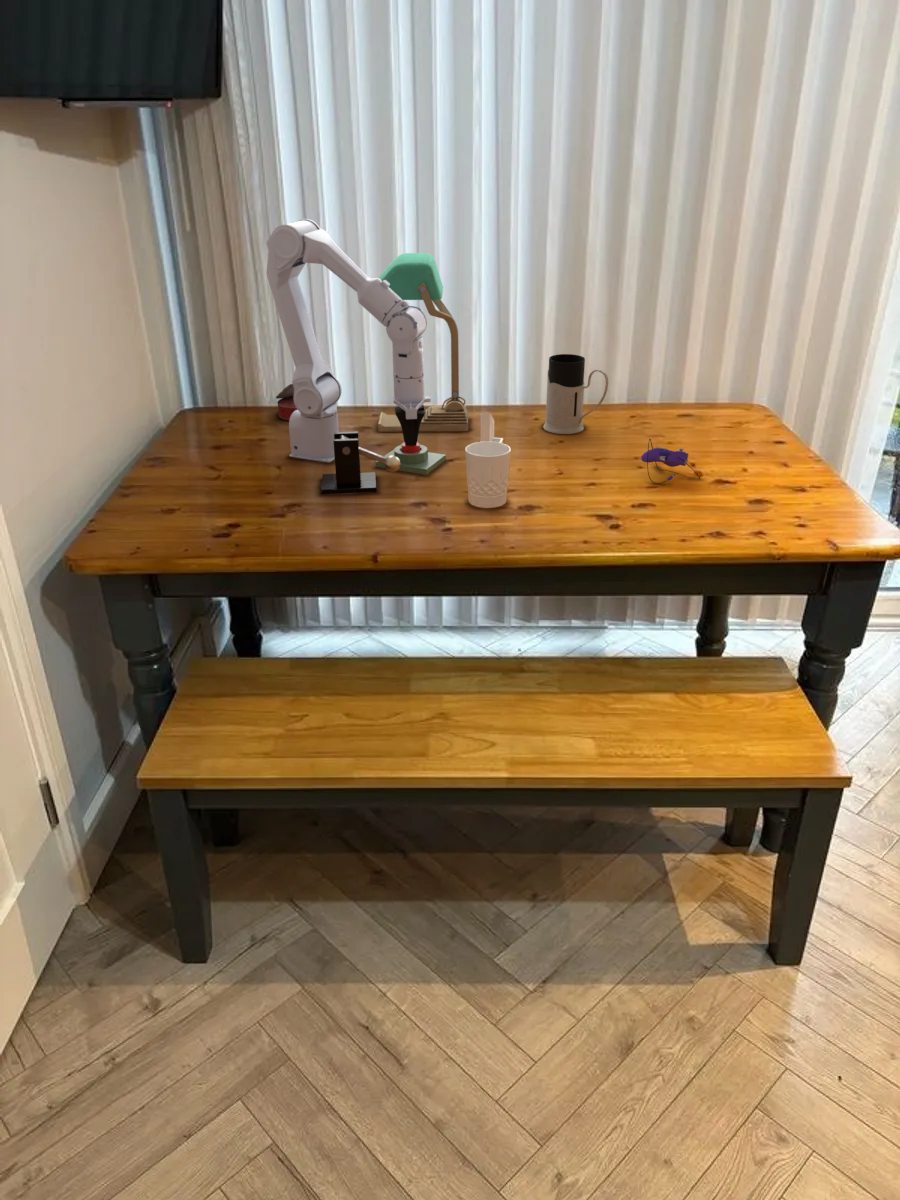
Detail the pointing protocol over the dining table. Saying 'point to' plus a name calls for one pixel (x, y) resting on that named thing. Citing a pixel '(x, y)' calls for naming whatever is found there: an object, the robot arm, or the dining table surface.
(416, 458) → the switch box
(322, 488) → the switch bracket
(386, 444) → the dining table surface
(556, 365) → the glass holder
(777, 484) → the dining table surface
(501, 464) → the white cup
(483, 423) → the white wedge bracket
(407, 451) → the button
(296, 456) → the robot arm
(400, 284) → the banker's lamp
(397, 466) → the lever
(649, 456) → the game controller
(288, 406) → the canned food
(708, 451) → the dining table surface
